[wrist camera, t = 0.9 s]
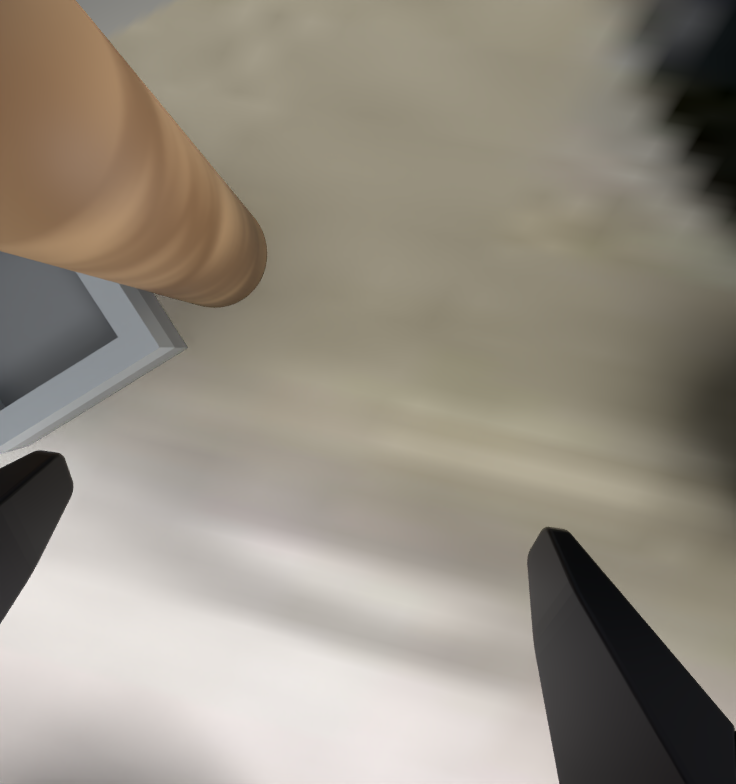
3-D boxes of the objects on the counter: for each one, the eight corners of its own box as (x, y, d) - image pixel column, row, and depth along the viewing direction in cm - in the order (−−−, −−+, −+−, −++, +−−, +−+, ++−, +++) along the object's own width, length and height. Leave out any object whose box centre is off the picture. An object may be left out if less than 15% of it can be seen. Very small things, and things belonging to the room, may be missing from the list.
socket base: (187, 347, 22) (159, 347, 19) (29, 445, 22) (-24, 460, 19) (78, 176, 21) (31, 148, 18) (-85, 280, 21) (-158, 269, 18)
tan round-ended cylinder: (224, 329, 22) (16, 298, 9) (136, 262, 21) (-217, 125, 8) (288, 243, 21) (173, 76, 8) (200, 173, 21) (-63, -113, 8)
